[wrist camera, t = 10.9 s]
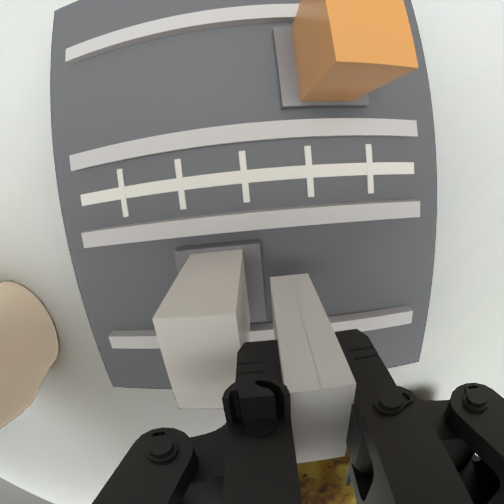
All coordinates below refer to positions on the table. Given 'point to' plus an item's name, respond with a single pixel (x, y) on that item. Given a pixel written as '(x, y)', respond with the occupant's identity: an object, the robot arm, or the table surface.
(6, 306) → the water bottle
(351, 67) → the fader
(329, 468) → the potato
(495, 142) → the table surface
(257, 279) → the fader
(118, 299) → the console
